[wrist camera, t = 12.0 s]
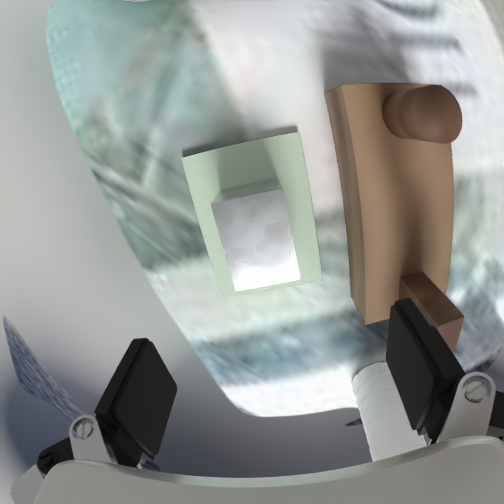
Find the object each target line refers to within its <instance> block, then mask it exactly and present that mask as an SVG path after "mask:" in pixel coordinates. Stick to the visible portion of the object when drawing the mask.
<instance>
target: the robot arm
mask: <svg viewBox="0 0 504 504" xmlns="http://www.w3.org/2000/svg"><path fill="white" fill-rule="evenodd" d="M386 362H387V365H388V367H389V370H390V372H391V375H392V377H393V380H394V382H395V385H396V387H397V390H398V393H399V395H400V398H401V401H402V403H403V406H404V409H405V411H406V414H407V417H408V420H409V423H410V426H411V428H412V430H417V433H418V436H420V435H423V434H425V433H427V434H428V436H429V438H430V439H431V440H430V443H429V445H428V446H426V447H422V448H419V449H416V450H412V451H409V452H406V453H403V454H400V455H396V456H393V457H389V458H386V459H382V460H378V461H374V462H370V463H366V464H362V465H357V466H352V467H347V468H343V469H338V470H332V471H325V472H319V473H311V474H303V475H294V476H282V477H267V478H216V477H200V476H187V475H178V474H170V473H163V472H157V471H151V470H145V469H142V467H141V465H140V463H139V462H140V458H141V459H143V460H149V461H153V459H154V456H155V455H157V454H158V452H159V449H160V445H161V442H162V438H163V435H164V432H165V428H166V425H167V422H168V418H169V415H170V412H171V408H172V405H173V402H174V398H175V395H176V392H177V385H176V383H175V381H174V380H173V378H172V376H171V375H170V373H169V371H168V370H167V368H166V366H165V364H164V363H163V360H162V359H161V357H160V355H159V353H158V352H157V350H156V348H155V346H154V344H153V343H152V342H151V341H149V340H148V339H147V338H141V339H133V341H132V342H131V344H130V346H129V348H128V349H127V351H126V353H125V354H124V356H123V358H122V360H121V362H120V364H119V366H118V367H117V369H116V371H115V373H114V375H113V377H112V378H111V380H110V382H109V384H108V386H107V388H106V390H105V392H104V394H103V396H102V397H101V399H100V401H99V403H98V405H97V407H96V409H95V411H94V412H95V413H96V418H94V417H93V416H91V415H83V416H80V417H78V418H77V419H76V420H75V421H74V422H73V423H72V425H71V426H70V430H69V436H70V437H68V438H66V439H64V440H62V441H60V442H58V443H56V444H54V445H52V446H50V447H48V448H46V449H45V450H43V451H42V452H41V453H40V455H39V457H38V466H37V465H34V466H32V467H31V468H30V469H29V470H28V471H27V472H26V473H24V475H22V476H21V477H20V478H19V479H18V480H17V481H15V482H14V483H13V485H12V487H11V496H12V499H13V501H14V503H15V504H504V393H502V392H499V391H495V384H494V382H493V380H492V379H491V377H489V376H487V375H486V374H484V373H481V372H473V373H469V374H467V375H466V374H465V372H464V370H463V369H462V367H461V366H460V364H459V362H458V361H457V359H456V357H455V356H454V354H453V353H452V351H451V350H450V348H449V347H448V345H447V343H446V342H445V340H444V339H443V337H442V336H441V334H440V333H439V331H438V330H437V329H436V328H435V327H434V326H430V325H429V323H428V322H427V321H426V319H425V318H424V316H423V315H422V313H421V312H420V310H419V309H418V308H417V306H416V305H415V303H414V302H413V301H412V299H411V298H409V297H408V298H404V299H400V300H396V301H395V303H394V305H392V306H391V308H390V321H389V333H388V342H387V351H386Z"/></svg>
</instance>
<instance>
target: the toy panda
mask: <svg viewBox="0 0 504 504" xmlns="http://www.w3.org/2000/svg"><path fill="white" fill-rule="evenodd" d="M123 1H133V2H142V1H149V0H123Z"/></svg>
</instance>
